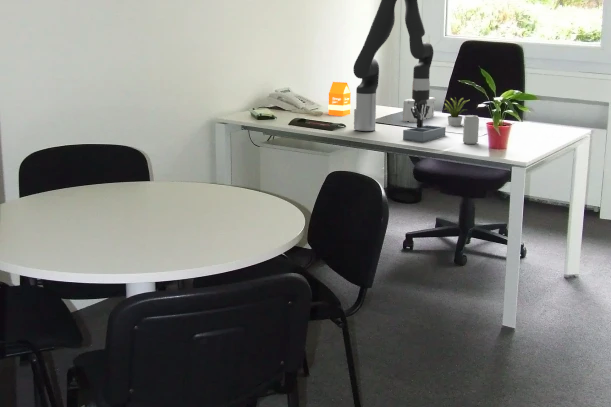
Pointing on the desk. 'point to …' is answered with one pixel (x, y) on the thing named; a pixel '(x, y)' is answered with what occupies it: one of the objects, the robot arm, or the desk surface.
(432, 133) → the grey compartment tray
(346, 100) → the orange juice
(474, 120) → the beverage can
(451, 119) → the house plant
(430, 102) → the stereo radio cassette player
